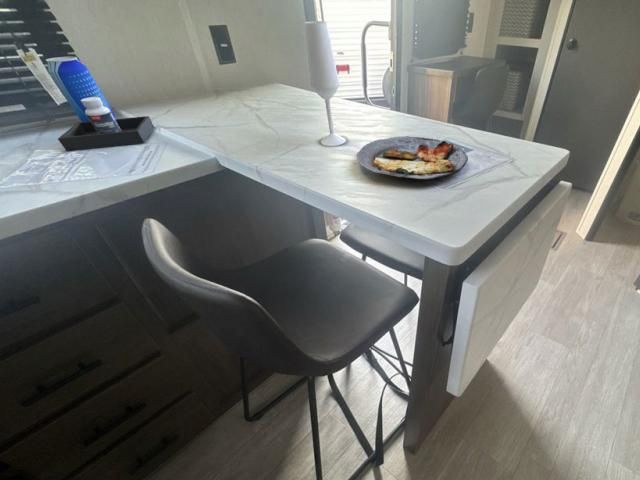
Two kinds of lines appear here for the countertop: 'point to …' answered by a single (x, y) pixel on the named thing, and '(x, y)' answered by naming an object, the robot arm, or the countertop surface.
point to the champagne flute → (323, 71)
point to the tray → (107, 134)
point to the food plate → (412, 157)
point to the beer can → (75, 83)
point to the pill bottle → (100, 116)
